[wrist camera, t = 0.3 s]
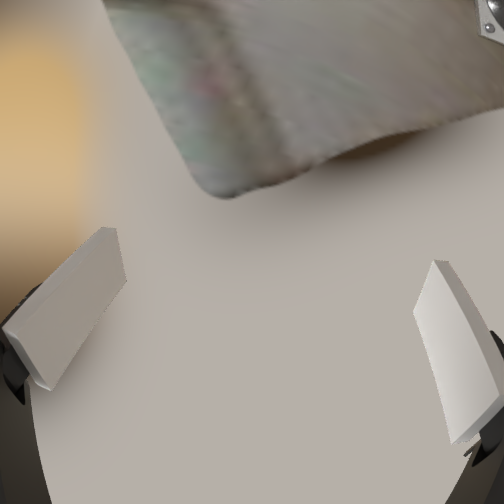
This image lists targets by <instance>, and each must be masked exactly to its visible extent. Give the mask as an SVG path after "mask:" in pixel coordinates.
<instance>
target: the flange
mask: <svg viewBox="0 0 504 504" xmlns="http://www.w3.org/2000/svg"><path fill="white" fill-rule="evenodd" d="M474 4H475V12H476V21H477V33H478V36H481V37H483V38H486V39H489V40H491V41H494V42H496V43H499V44H501V45H503V46H504V0H474Z"/></svg>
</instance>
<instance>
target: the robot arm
mask: <svg viewBox="0 0 504 504" xmlns="http://www.w3.org/2000/svg"><path fill="white" fill-rule="evenodd" d="M126 281H127V280H126V276H125V272H124V268H123V263H122V257H121V252H120V248H119V243H118V237H117V231H116V228H106V227H101V228H100V229H99V230H98V231H97V232H96V233H95V234H93V235H92V236H91V237H90V238H89V239H88V240H87V241H86V242H85V243H84V244H83V245H82V246H80V247H79V248H78V249H77V250H76V251H75V252H74V253H73V254H72V255H71V256H70V257H69V258H68V259H67V260H66V261H64V262H63V263H62V264H61V265H60V267H58V268H57V269H56V270H55V271H54V272H53V273H52V274H51V276H49V277H48V278H47V279H46V280H45V281H44V282H43V283H41V284H39V285H38V286H36V287H35V288H33V289H32V290H31V291H30V292H29V293H28V294H27V295H26V296H25V299H23V300H22V301H21V302H20V303H19V304H18V306H16V307H15V309H13V310H12V311H11V313H10V314H9V315H8V316H7V317H6V319H4V320H3V322H2V323H1V324H0V504H52V502H51V500H50V496H49V493H48V489H47V485H46V481H45V477H44V473H43V470H42V465H41V460H40V456H39V451H38V446H37V441H36V435H35V429H34V423H33V415H32V407H31V398H30V388H29V384H28V381H27V380H26V379H27V377H28V376H29V374H30V375H31V377H32V378H33V379H34V381H35V382H36V384H37V385H39V386H41V387H43V388H45V389H48V390H50V391H52V390H53V388H54V387H55V385H56V383H57V382H58V380H59V379H60V377H61V375H62V374H63V372H64V371H65V369H66V367H67V366H68V364H69V363H70V361H71V360H72V358H73V357H74V355H75V354H76V352H77V351H78V349H79V348H80V346H81V345H82V343H83V342H84V340H85V339H86V337H87V336H88V335H89V333H90V332H91V330H92V329H93V327H94V326H95V324H96V323H97V322H98V320H99V319H100V317H101V316H102V314H103V313H104V312H105V310H106V309H107V307H108V306H109V305H110V303H111V302H112V301H113V299H114V298H115V296H116V295H117V294H118V292H119V291H120V290H121V288H122V287H123V286H124V284H125V283H126ZM413 314H414V317H415V319H416V322H417V324H418V327H419V330H420V333H421V336H422V339H423V342H424V345H425V348H426V351H427V354H428V357H429V361H430V364H431V367H432V370H433V374H434V377H435V380H436V384H437V387H438V391H439V395H440V399H441V402H442V406H443V410H444V414H445V418H446V422H447V427H448V431H449V436H450V440H451V444H456V443H461V442H467V441H470V440H471V439H472V438H473V437H474V436H475V435H476V434H477V433H478V432H479V433H480V437H481V439H480V440H479V441H478V442H477V443H476V444H474V446H472V447H471V448H470V449H469V450H468V451H466V453H465V454H464V456H465V457H466V456H467V455H468V454H470V453H471V452H472V451H473V452H472V454H471V456H470V458H469V461H468V462H467V465H466V467H465V468H464V470H463V473H462V474H461V476H460V478H459V480H458V482H457V484H456V486H455V487H454V489H453V491H452V493H451V494H450V496H449V498H448V500H447V501H446V503H445V504H504V344H503V342H502V340H501V339H500V338H499V337H498V336H497V335H496V334H495V333H494V332H493V331H489V329H488V328H487V326H486V324H485V322H484V320H483V318H482V316H481V315H480V313H479V311H478V309H477V308H476V306H475V304H474V302H473V301H472V299H471V297H470V295H469V294H468V293H467V290H466V289H465V287H464V286H463V284H462V282H461V281H460V279H459V278H458V276H457V274H456V273H455V271H454V270H453V268H452V267H451V265H450V264H449V262H448V261H440V260H433V262H432V264H431V267H430V270H429V273H428V275H427V278H426V281H425V284H424V286H423V289H422V291H421V294H420V296H419V299H418V301H417V304H416V306H415V308H414V311H413Z"/></svg>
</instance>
